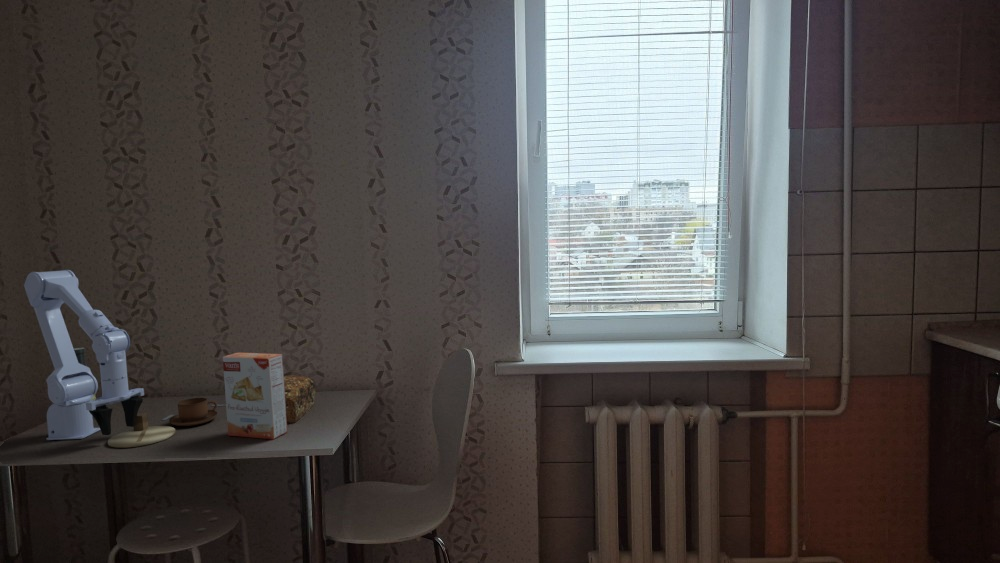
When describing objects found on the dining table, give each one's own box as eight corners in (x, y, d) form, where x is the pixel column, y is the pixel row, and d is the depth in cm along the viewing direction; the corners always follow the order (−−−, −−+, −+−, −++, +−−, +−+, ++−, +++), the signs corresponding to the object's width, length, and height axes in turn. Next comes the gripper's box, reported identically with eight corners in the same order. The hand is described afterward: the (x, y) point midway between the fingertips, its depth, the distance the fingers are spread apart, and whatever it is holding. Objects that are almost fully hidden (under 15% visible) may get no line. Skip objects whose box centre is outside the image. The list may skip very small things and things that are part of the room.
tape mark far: (211, 406, 184) (211, 405, 184) (212, 405, 185) (212, 405, 185) (227, 405, 184) (227, 405, 184) (228, 404, 185) (228, 404, 185)
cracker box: (226, 437, 154) (220, 356, 153) (243, 429, 160) (237, 351, 158) (273, 440, 150) (267, 357, 149) (288, 432, 156) (283, 352, 154)
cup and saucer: (201, 414, 177) (199, 393, 176) (226, 419, 170) (225, 398, 170) (160, 426, 166) (158, 404, 166) (186, 432, 160) (184, 409, 160)
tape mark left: (161, 420, 171) (161, 419, 171) (170, 415, 176) (170, 414, 176) (165, 420, 171) (165, 419, 171) (174, 415, 176) (174, 414, 176)
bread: (282, 406, 182) (280, 373, 182) (318, 404, 182) (316, 372, 182) (258, 425, 164) (255, 389, 163) (297, 424, 164) (295, 387, 163)
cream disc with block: (114, 433, 160) (112, 416, 159) (178, 424, 166) (176, 408, 165) (101, 451, 146) (100, 432, 146) (172, 441, 152) (170, 423, 151)
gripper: (98, 385, 146) (103, 440, 147) (150, 372, 160) (155, 422, 161) (77, 384, 148) (82, 438, 149) (131, 371, 162) (135, 421, 163)
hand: (118, 430), depth 155 cm, fingers open, 6 cm apart
